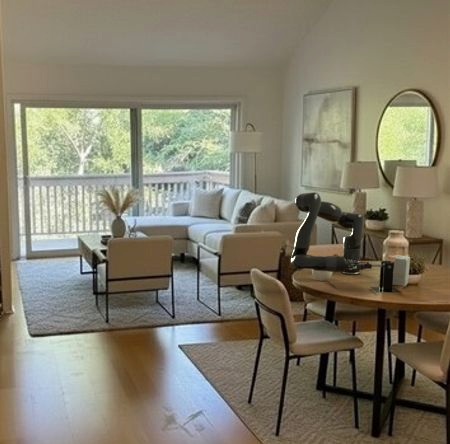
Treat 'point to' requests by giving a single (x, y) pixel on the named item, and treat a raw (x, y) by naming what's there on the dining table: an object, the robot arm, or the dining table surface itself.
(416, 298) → the dining table surface
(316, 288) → the dining table surface
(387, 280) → the bracket
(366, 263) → the lever
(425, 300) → the dining table surface
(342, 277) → the dining table surface
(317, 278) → the trinket box
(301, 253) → the robot arm
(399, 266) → the cosmetic box
